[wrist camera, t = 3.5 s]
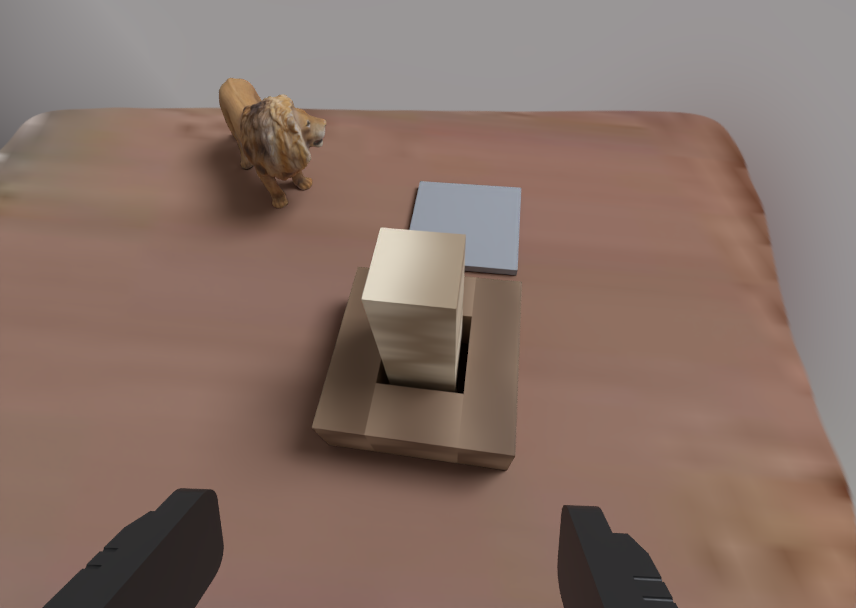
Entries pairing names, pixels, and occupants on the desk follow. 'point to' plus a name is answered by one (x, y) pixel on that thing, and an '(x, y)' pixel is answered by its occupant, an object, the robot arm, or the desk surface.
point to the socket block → (429, 409)
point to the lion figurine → (270, 135)
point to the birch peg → (417, 306)
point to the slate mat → (474, 221)
